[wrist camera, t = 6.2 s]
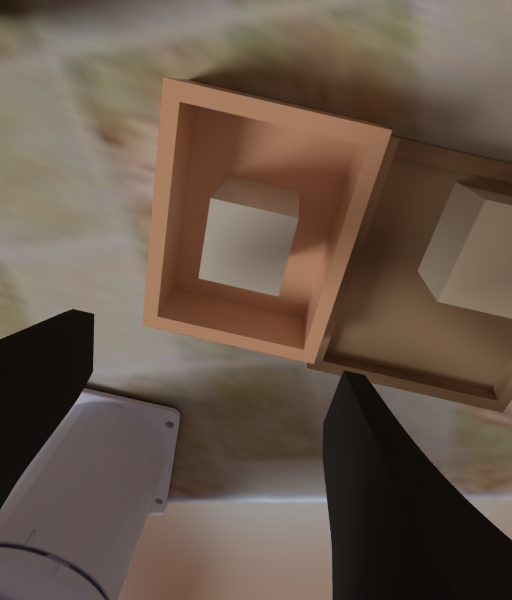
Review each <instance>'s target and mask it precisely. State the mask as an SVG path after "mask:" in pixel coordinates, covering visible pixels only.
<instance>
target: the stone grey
mask: <svg viewBox="0 0 512 600" xmlns="http://www.w3.org/2000/svg"><path fill="white" fill-rule="evenodd" d="M298 220H299V192H298V191H294V190H290V189H285V188H281V187H277V186H272V185H268V184H264V183H259V182H255V181H251V180H246V179H242V178H237V177H233V176H229V177H228V178H227V179H226V180H225V181H224V182H223V184H222V185H221V186H220V187H219V188H218V190H217V191H216V192H215V193H214V194H213V196H212V197H211V198H210V205H209V212H208V218H207V225H206V231H205V238H204V245H203V251H202V258H201V264H200V271H199V279H203V280H208V281H212V282H217V283H221V284H225V285H230V286H234V287H238V288H243V289H247V290H252V291H256V292H260V293H265V294H269V295H274V296H279V293H280V289H281V285H282V281H283V277H284V273H285V270H286V266H287V262H288V258H289V254H290V250H291V246H292V243H293V239H294V235H295V231H296V227H297V223H298Z"/></svg>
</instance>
